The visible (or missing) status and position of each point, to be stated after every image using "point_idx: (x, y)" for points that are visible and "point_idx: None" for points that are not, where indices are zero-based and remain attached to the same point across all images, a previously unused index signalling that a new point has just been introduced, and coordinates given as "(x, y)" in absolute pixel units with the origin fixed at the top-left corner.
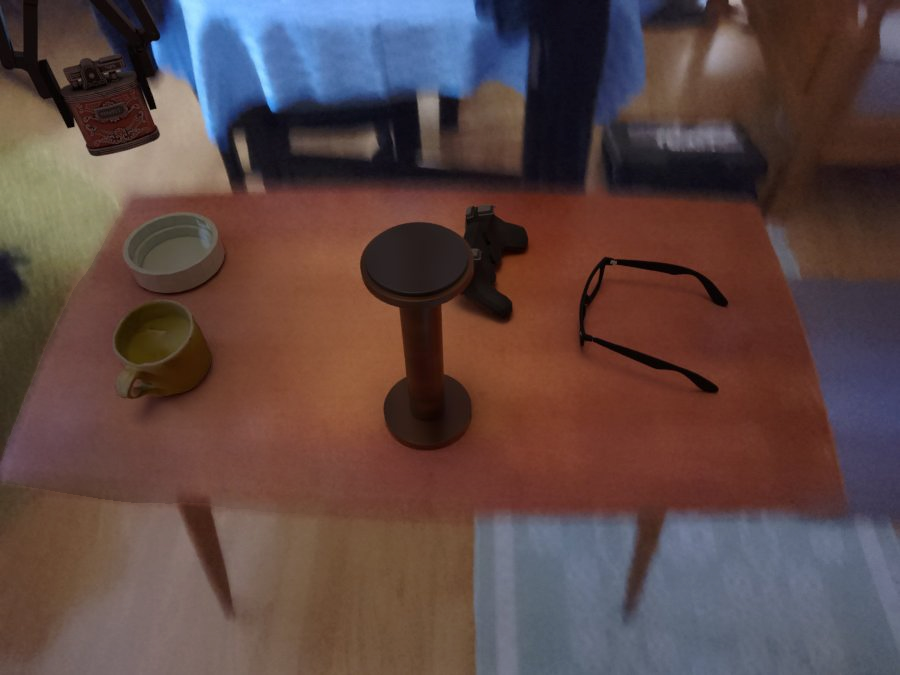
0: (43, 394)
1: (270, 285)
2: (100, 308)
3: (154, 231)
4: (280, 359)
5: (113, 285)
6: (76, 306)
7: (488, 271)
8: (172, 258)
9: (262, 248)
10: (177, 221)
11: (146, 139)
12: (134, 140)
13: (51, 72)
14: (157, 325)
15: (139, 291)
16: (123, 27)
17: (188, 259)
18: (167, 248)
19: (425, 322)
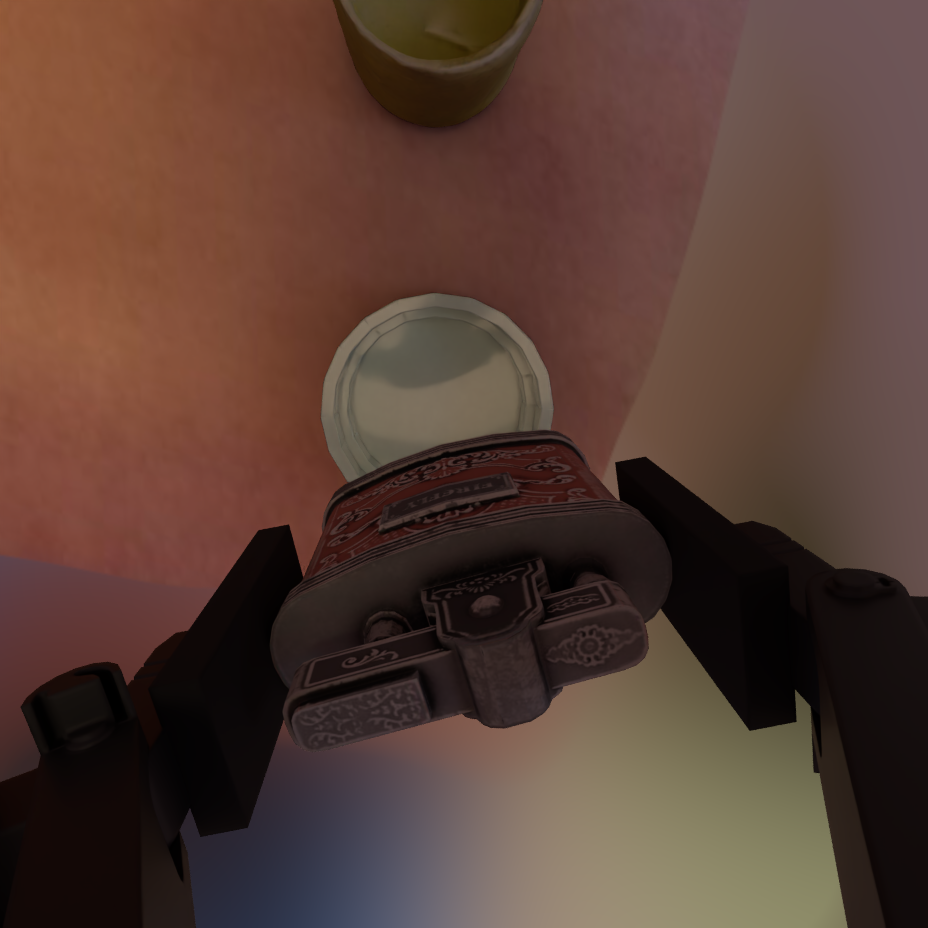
0: (720, 47)
1: (220, 272)
2: (609, 295)
3: None
4: (189, 2)
5: (583, 364)
6: (660, 315)
7: None
8: (451, 413)
9: (244, 409)
10: None
11: (366, 478)
12: (406, 466)
13: (716, 645)
14: (448, 57)
15: (526, 329)
16: (74, 847)
17: (414, 400)
18: None
19: None
